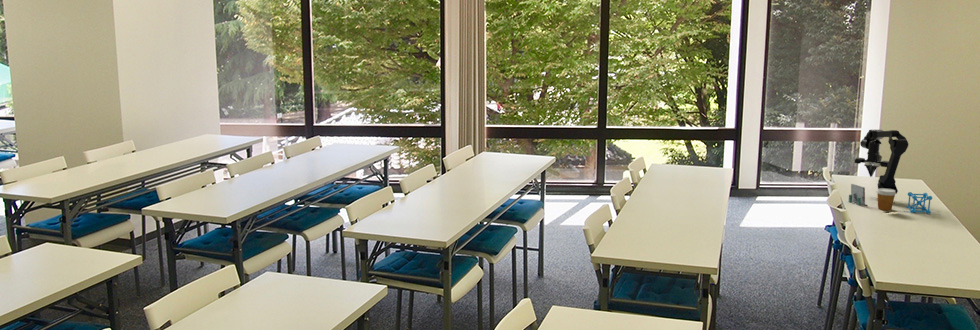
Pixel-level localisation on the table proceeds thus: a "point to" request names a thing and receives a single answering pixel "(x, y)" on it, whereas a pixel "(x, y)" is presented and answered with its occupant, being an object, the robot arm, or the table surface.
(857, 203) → the tablet stand
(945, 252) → the table surface
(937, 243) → the table surface
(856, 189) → the grey square plate
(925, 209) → the molecular structure
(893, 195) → the disposable coffee cup
